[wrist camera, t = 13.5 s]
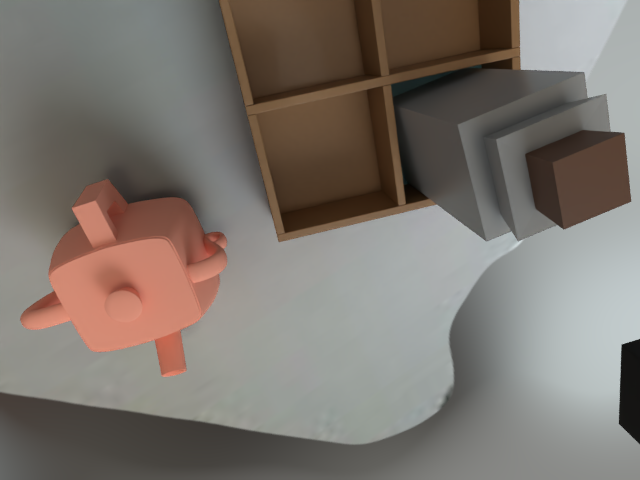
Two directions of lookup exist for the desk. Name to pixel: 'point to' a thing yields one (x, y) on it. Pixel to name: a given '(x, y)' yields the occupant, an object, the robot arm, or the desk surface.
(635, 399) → the robot arm
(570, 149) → the perfume bottle
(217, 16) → the desk surface
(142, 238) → the teapot
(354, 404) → the desk surface
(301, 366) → the desk surface
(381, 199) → the bottle tray
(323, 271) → the desk surface
